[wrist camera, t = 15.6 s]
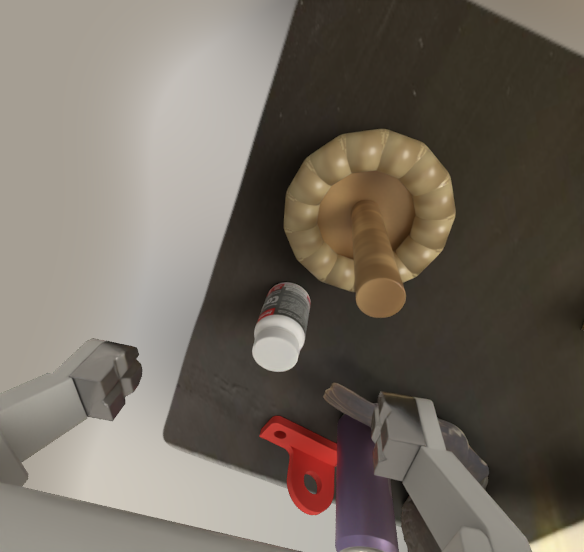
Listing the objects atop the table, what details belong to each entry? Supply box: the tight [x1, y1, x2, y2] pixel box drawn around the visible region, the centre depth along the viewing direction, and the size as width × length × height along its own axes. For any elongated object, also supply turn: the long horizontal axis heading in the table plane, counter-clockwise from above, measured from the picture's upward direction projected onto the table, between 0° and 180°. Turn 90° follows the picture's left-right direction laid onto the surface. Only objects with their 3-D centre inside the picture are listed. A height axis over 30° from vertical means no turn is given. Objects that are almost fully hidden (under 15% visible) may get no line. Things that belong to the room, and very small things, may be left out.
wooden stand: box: [317, 171, 416, 318], centre depth 22 cm, size 9×9×14 cm
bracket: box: [260, 416, 337, 515], centre depth 43 cm, size 12×4×8 cm, turn 60°
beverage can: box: [335, 414, 399, 552], centre depth 36 cm, size 6×6×15 cm
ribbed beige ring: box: [284, 129, 456, 292], centre depth 26 cm, size 13×14×3 cm
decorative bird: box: [324, 383, 489, 482], centre depth 38 cm, size 6×25×5 cm, turn 57°
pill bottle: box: [252, 282, 310, 372], centre depth 31 cm, size 5×5×8 cm
